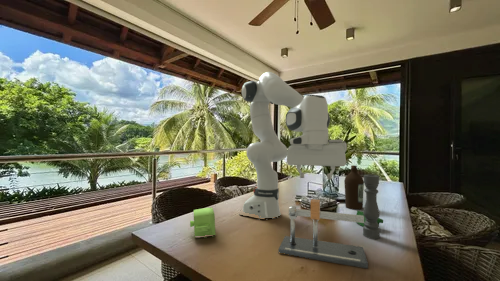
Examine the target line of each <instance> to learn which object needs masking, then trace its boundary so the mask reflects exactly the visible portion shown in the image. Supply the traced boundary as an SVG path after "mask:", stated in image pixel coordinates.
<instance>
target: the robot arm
mask: <svg viewBox="0 0 500 281" xmlns="http://www.w3.org/2000/svg"><path fill="white" fill-rule="evenodd" d="M241 96H242V99H243V100H244V101H245V102H247V103H250V105H249V113H250V115H249V116H250V121H251V126H252V131H253V134H254V135H255V136H256V137H257V138H258V139H259V140H260V141H256V142H253V143H249V144H248V146H247V148H246V157H247V159H248V160H249V161H250V163H252V165H253V167H254V169H255V172H256V184H257V185H256V187H255V188H254V189H253V192H252V193H253V195H252V196H250V197H249V198H248V199H246V200H245V202H244V203H243V206H242V209H243V212H245V213H249V214H255V215H258V216H259V218H272V219H274V218H273V217H277V218H279V217H278V216H280V215H282V214H281V210H280V205H279V204H280V203H279V199H280V190H279V181H278V180H279V178H278V177H279V175H278V172H277V171H276V170H274V168H273V166H272V165H273V164H272V163H274V162H275V163H276V162H277V163H278V162H280V161H283V160H284V159H286V163H287V164H288V165H289V166H296V169H297V171H298V173H299V178H300V179H305V172H303V171H302V170H301V168H302V166H308V167H309V166H313V167H314V166H315V167H317V166H318V167H330V173H327V174H326V175H327V178H326V179H327V180H332V179H333V178H332V176H333V174H334V172H335V170H336V167H345V166H346V165H347V160H346V158H347V157H346V152H347V150H348V145H347V143H346V141H345V140H342V139H329V126H330V124H331V117H330V114H329V109H328V107H329V106H328V102H327V99H326V97H325V96H323V95H318V94H306V95H303V94H301V92H298V91H297V90H296V89H295V88H293V87H292V86H290V85H289V84H288V83H287V82H285V81H284V80H283V78H281V76H279V75H277V74H276V73H275V72H272V71H266V72H264V73H262V74H261V75H260V77H259V79H258V80H251V81H247V82H244V83H243V85H242V87H241ZM270 104H271V105H278V106H285V107H289V108H290V109H288V111H287V112H286V115H285V125H286V127H287V128H288V130H290V131H291V132H298V133H302V134H301V135H298V136H296V137H293V138H290V139H289V144H290V145H289V146H288V148H287V146H286V144H284V143H283V142H282V141H281V140H280V138H279V137H278V135H277V133H276V131H275V130H274V125H273V121H272V117H271V112H270V108H269V106H270ZM260 216H261V217H260ZM280 217H281V216H280Z"/></svg>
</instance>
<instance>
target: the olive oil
mask: <svg viewBox="0 0 500 281" xmlns="http://www.w3.org/2000/svg"><path fill="white" fill-rule="evenodd" d="M343 183H344V198H345V199H344V200H345V202H344V203H345V208H347V209H350V210H357V211H360V210H364V207H363V206H364V190H365V189H364V188H365V184H364V177H362V176H361V174H360V173H358V165H350V172H349V173H348V174H347V175H346V176H345V178H344V182H343Z"/></svg>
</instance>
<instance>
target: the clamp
mask: <svg viewBox="0 0 500 281" xmlns="http://www.w3.org/2000/svg"><path fill="white" fill-rule="evenodd" d="M355 215H363V216H364V214H363V211H362V210H361V211H360V210H357V211H356V214H355ZM365 221H366V219H365V216H364V222H365ZM355 223H356V224H358V225H360V226H362V227H363V226H365V225H364V223H359V222H355ZM377 223H378V224H379V225H380V224H383V223H384V219H382V218H380V217H379V218H378V219H377Z"/></svg>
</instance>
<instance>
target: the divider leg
mask: <svg viewBox="0 0 500 281" xmlns="http://www.w3.org/2000/svg"><path fill="white" fill-rule="evenodd" d="M310 210H311V217H310V219H311V220H312V240H313V246H314V247H317V246H318V241H319V239H318V238H319V236H318V234H319V232H318V229H319V225H318V224H319V223H318V222H319V221H320V219H321V218H320V211H321V199H317V198H316V199H315V198H311V200H310Z"/></svg>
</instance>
